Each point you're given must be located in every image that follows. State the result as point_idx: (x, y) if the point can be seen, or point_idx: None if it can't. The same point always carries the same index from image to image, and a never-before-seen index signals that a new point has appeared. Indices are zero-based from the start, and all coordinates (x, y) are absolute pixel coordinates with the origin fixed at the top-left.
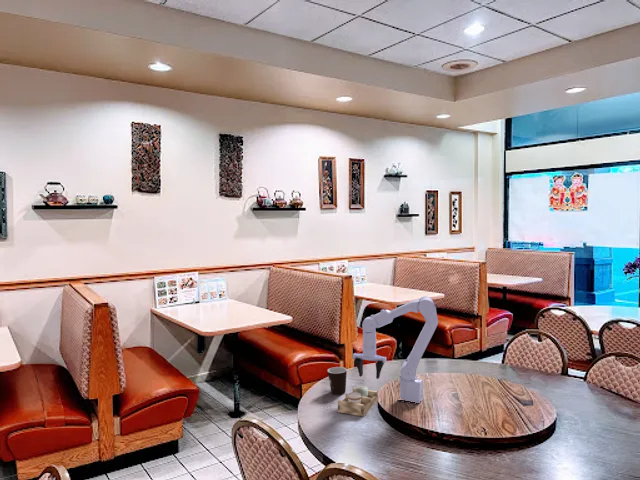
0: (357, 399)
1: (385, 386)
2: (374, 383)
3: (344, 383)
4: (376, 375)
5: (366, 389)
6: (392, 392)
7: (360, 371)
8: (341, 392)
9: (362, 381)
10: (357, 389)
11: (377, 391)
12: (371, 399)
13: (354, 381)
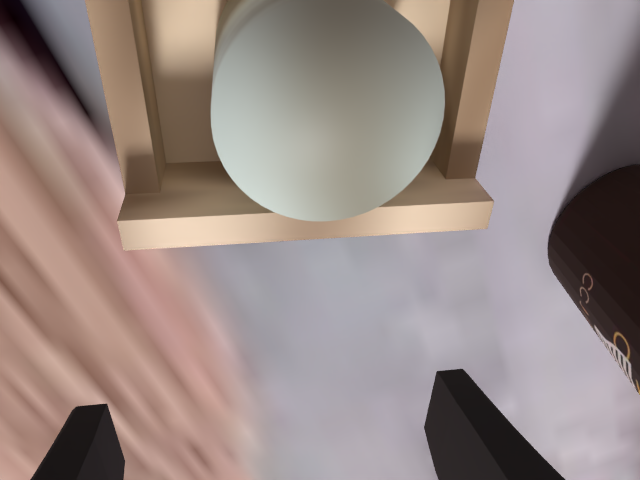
0: None
1: (227, 466)
2: (339, 473)
3: (617, 284)
4: (79, 461)
5: (220, 100)
6: (98, 401)
7: (484, 452)
8: (591, 200)
9: None
10: (386, 22)
11: (125, 249)
12: (113, 15)
13: None
